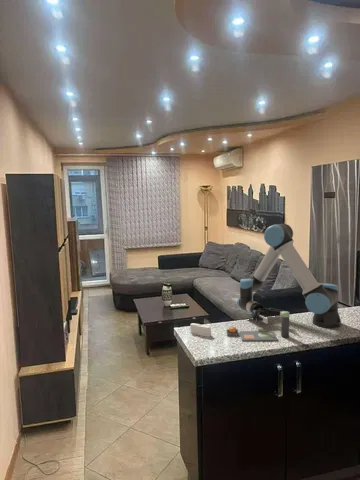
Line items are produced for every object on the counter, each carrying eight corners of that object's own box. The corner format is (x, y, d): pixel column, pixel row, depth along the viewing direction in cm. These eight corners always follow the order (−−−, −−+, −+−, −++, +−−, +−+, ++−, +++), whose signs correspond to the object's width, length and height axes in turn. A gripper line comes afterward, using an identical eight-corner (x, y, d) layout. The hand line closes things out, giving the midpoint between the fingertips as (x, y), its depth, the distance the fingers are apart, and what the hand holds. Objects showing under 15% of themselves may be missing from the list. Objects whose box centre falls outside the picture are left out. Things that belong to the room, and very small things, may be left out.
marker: (288, 334, 187) (288, 311, 185) (290, 338, 183) (290, 313, 181) (280, 335, 187) (280, 311, 186) (282, 338, 183) (282, 313, 181)
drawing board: (273, 332, 191) (273, 330, 191) (278, 341, 179) (278, 339, 179) (239, 332, 192) (239, 330, 192) (242, 341, 180) (242, 339, 180)
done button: (235, 331, 192) (235, 326, 192) (236, 333, 188) (236, 329, 188) (228, 331, 192) (228, 326, 192) (229, 333, 188) (229, 329, 188)
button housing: (237, 331, 193) (237, 329, 193) (238, 336, 187) (238, 333, 187) (226, 332, 193) (226, 329, 193) (227, 336, 187) (227, 333, 187)
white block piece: (216, 337, 188) (216, 326, 187) (197, 341, 183) (197, 330, 182) (203, 328, 201) (202, 318, 201) (185, 331, 197) (184, 322, 196)
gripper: (272, 311, 213) (296, 322, 194) (237, 317, 204) (258, 329, 185) (272, 299, 213) (296, 309, 193) (236, 305, 203) (258, 315, 184)
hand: (277, 319), depth 189 cm, fingers open, 13 cm apart
